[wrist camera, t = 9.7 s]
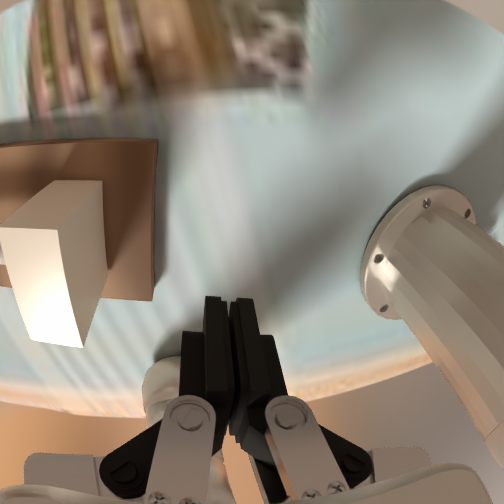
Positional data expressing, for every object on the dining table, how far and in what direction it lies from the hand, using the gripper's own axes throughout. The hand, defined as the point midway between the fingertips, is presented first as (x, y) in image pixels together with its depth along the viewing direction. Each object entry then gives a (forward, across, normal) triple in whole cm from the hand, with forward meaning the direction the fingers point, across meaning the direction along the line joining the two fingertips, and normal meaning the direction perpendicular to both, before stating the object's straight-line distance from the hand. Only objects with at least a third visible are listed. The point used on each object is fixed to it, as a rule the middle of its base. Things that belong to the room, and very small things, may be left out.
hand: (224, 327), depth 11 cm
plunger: (+7, +12, 0) cm, 14 cm away
